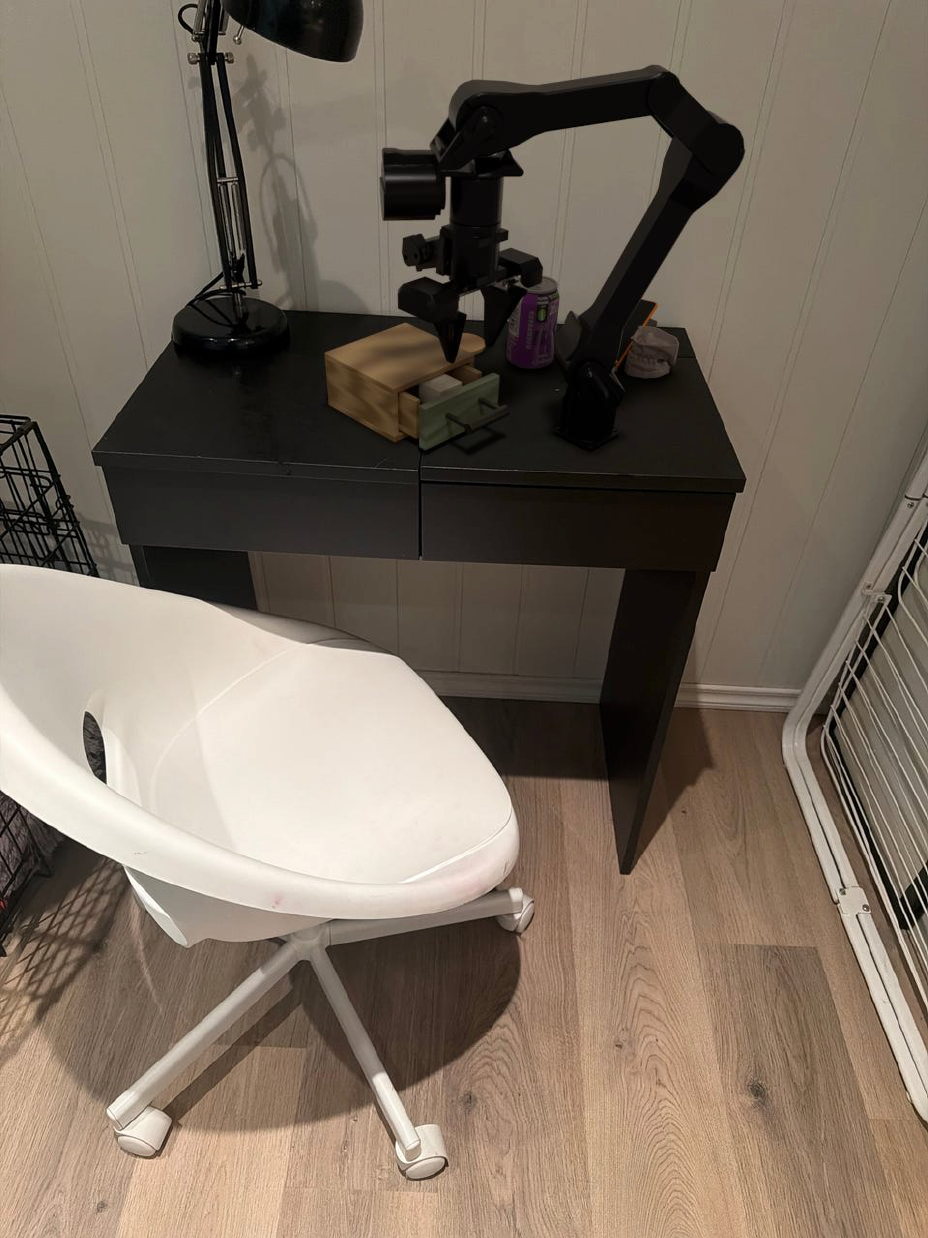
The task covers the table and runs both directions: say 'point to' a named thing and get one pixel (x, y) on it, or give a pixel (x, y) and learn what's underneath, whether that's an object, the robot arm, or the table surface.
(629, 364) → the dental mold
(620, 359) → the smartphone
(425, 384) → the block
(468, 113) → the robot arm
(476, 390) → the drawer
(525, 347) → the beverage can
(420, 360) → the cabinet
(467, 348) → the coaster
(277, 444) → the table surface
